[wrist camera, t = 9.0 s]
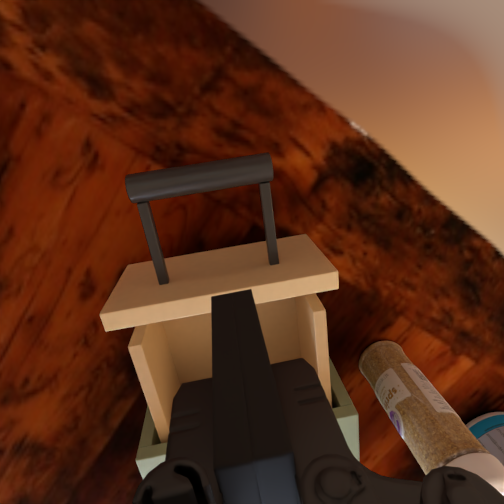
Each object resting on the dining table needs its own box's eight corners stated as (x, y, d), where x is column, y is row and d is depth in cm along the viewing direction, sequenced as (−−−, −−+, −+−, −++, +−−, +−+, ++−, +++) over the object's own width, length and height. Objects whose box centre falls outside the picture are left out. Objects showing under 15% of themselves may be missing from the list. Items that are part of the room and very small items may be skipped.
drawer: (99, 172, 22) (53, 192, 16) (298, 140, 23) (332, 147, 16) (172, 409, 30) (162, 487, 24) (318, 380, 31) (346, 447, 24)
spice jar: (350, 352, 31) (443, 504, 19) (394, 330, 31) (519, 470, 18) (366, 384, 33) (460, 542, 20) (407, 364, 33) (530, 513, 20)
